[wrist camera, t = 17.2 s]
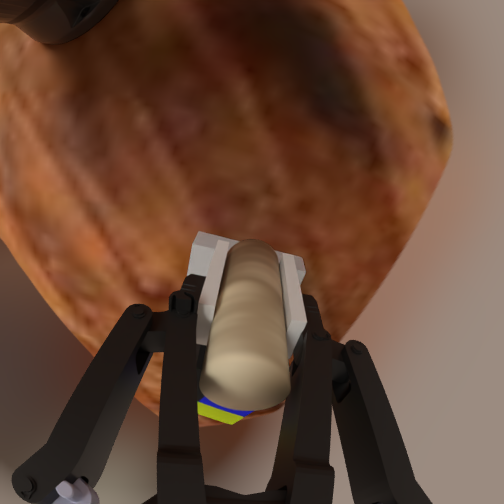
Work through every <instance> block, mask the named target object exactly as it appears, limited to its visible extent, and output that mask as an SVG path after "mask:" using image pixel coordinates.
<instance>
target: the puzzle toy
mask: <svg viewBox="0 0 504 504" xmlns="http://www.w3.org/2000/svg"><path fill="white" fill-rule="evenodd" d="M205 351H206V345H201V344H197V343H196V368H197V403H198V414H200V415H203V416H206V417H209V418H212V419H215V420H218V421H221V422H224V423H228V424H231V425H232V424H234V423H235V422H237V421H239V420H240V419H242V418H243V417H245V416H247V415H248V414H250V413H251V412H253V411H241V410H234V409H229V408H225V407H222V406H220V405H217V404H215V403H213V402H212V401H210V400H209V399H208V398H206V397H205V396H204V395H203V393H202V392H201V390H200V387H199V381H200V376H201V371H202V366H203V361H204V356H205Z"/></svg>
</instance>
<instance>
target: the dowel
mask: <svg viewBox="0 0 504 504" xmlns="http://www.w3.org/2000/svg"><path fill="white" fill-rule="evenodd" d="M199 387H200V390H201V392H202V393H203V395H204V396H205V397H206V398H208V399H209V400H210V401H212V402H213V403H215V404H217V405H220V406H222V407H225V408H229V409H234V410H241V411H255V410H262V409H267V408H270V407H273V406H275V405H277V404H279V403H281V402H282V401H284V400H285V399H286V398H287V396H288V395H289V393H290V390H291V385H290V373H289V361H288V350H287V339H286V328H285V318H284V308H283V299H282V289H281V280H280V271H279V262H278V256H277V254H276V252H275V250H274V249H273V248H272V247H271V246H270V245H269V244H267V243H265V242H263V241H260V240H256V239H247V240H243V241H240V242H238V243H236V244H235V245H233V246H232V247H231V248H230V250H229V251H228V253H227V257H226V262H225V266H224V271H223V275H222V280H221V284H220V289H219V293H218V298H217V303H216V307H215V312H214V317H213V321H212V324H211V327H210V332H209V336H208V341H207V346H206V351H205V356H204V361H203V366H202V371H201V376H200V381H199Z"/></svg>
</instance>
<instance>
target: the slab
mask: <svg viewBox="0 0 504 504" xmlns="http://www.w3.org/2000/svg"><path fill="white" fill-rule="evenodd" d="M218 240H222V241H227V242H229V247H228V251H229V250H230V248H231V247H232V246H233V245H235V244H236V243H238V242H240V241H236V240H232V239H228V238H224V237H220V236H216V235H213V234H209V233H205V232H201V231H199V232H198V234H197V236H196V238H195V240H194V242H193V244H192V250H191V255H190V261H189V267H188V273H187V276H188V275H190V274H196V275H201V276H207V273H208V270H209V267H210V263H211V260H212V257H213V254H214V251H215V248H216V245H217V242H218ZM275 252H276V254H277V256H278V262H279V263H280V259H281V256H282V253H283V252H279V251H275ZM286 254H287V253H286ZM294 260H295V265H296V269H297V274H298V279H299V284H300V285H301V282H302V280H303V278H304V276H305V273H306V270H305V266H304V262H303V259H302V257H299V256H295V255H294Z"/></svg>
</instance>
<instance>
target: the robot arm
mask: <svg viewBox="0 0 504 504" xmlns="http://www.w3.org/2000/svg"><path fill="white" fill-rule="evenodd" d="M117 1H118V0H0V23H9V24H14V25H16V26H17V27H18V28H20V29H21V30H22V31H23V32H25V33H26V34H27V35H29V36H30V37H31V38H33V39H34V40H36V41H38V42H41V43H47V44H62V43H65V42H68V41H71V40H73V39H75V38H77V37H79V36H80V35H82V34H83V33H85V32H86V31H88V30H89V29H90V28H92V27H93V26H94V25H95V24H97V23H98V22H99V21H100V20H101V19H102V18H103V17H104V16H105V15H106V14H107V13H108V12H109V11H110V10H111V9H112V7H113V6H114V5H115V4H116V2H117ZM228 247H229V242H227V241H222V240H218V242H217V245H216V248H215V251H214V254H213V257H212V260H211V263H210V267H209V270H208V273H207V276H201V275H196V274H190V275H188V276H187V277H186V278H185V280H184V282H183V285H182V287H181V289H180V290H178V291H175V292H173V293H172V294H171V295H170V297H169V310H168V311H164V312H152V310H151V309H150V308H149V307H148V306H146V305H144V304H133V305H131V306H129V307H128V308H127V309H126V310H125V311H124V313H123V314H122V316H121V317H120V319H119V320H118V322H117V323H116V325H115V326H114V328H113V329H112V331H111V332H110V334H109V335H108V337H107V338H106V340H105V342H104V343H103V345H102V346H101V348H100V349H99V351H98V353H97V354H96V356H95V357H94V359H93V361H92V362H91V364H90V366H89V367H88V369H87V370H86V372H85V374H84V376H83V377H82V379H81V381H80V382H79V384H78V386H77V387H76V389H75V391H74V392H73V394H72V396H71V398H70V400H69V401H68V403H67V405H66V407H65V409H64V410H63V412H62V414H61V416H60V418H59V420H58V422H57V423H56V425H55V427H54V429H53V431H52V433H51V435H50V437H49V439H48V441H47V443H46V444H45V445H44V446H43V447H42V448H41V449H39V450H38V451H37V452H36V453H35V454H34V455H32V456H31V457H30V458H29V459H28V460H27V461H25V462H24V463H23V464H22V465H21V466H20V467H18V468H17V469H16V470H15V472H14V473H13V475H12V485H13V488H14V490H15V491H16V493H17V494H18V495H19V496H20V497H21V498H22V499H23V500H25V501H27V502H29V503H31V504H99V498H98V495H97V493H96V492H95V491H94V490H93V488H94V487H95V485H96V484H97V482H98V480H99V479H100V477H101V475H102V472H103V470H104V468H105V465H106V463H107V460H108V457H109V455H110V452H111V450H112V447H113V445H114V442H115V440H116V437H117V435H118V432H119V430H120V427H121V425H122V423H123V420H124V418H125V416H126V413H127V411H128V408H129V406H130V404H131V401H132V399H133V397H134V395H135V392H136V390H137V388H138V386H139V383H140V381H141V379H142V377H143V374H144V372H145V370H146V368H147V366H148V363H149V361H150V359H151V357H152V355H153V352H164V357H163V368H162V380H161V394H160V412H159V442H158V452H157V494H156V495H154V496H153V497H151V498H150V499H148V500H147V501H145V502H144V503H142V504H332V499H333V489H334V478H335V475H334V474H335V471H334V468H333V467H332V466H330V464H329V454H330V438H331V437H330V436H331V415H332V406H333V411H334V415H335V419H336V423H337V427H338V432H339V436H340V440H341V445H342V449H343V454H344V458H345V463H346V468H347V472H348V477H349V481H350V486H351V491H352V496H353V500H354V503H355V504H432V502H431V501H430V500H429V498H428V497H427V496H426V494H425V493H424V491H423V490H422V489H421V487H420V486H419V484H418V483H417V482H416V480H415V477H414V474H413V470H412V467H411V464H410V461H409V457H408V454H407V451H406V448H405V446H404V442H403V439H402V436H401V434H400V431H399V428H398V425H397V422H396V419H395V417H394V414H393V412H392V409H391V406H390V403H389V401H388V398H387V395H386V393H385V390H384V388H383V385H382V383H381V381H380V378H379V376H378V373H377V371H376V368H375V366H374V363H373V361H372V359H371V356H370V354H369V352H368V349H367V348H366V346H365V345H364V344H363V343H361V342H359V341H356V340H349V341H348V342H347V343H346V344H345V345H344V344H341V343H338V342H336V341H333V340H332V339H331V335H330V334H329V333H328V332H327V331H326V330H325V329H324V328H323V324H322V320H321V316H320V313H319V309H318V305H317V301H316V300H315V299H314V298H313V296H311V295H305V294H302V293H301V288H300V284H299V279H298V274H297V269H296V265H295V260H294V255H291V254H286V253H282V256H281V259H280V263H279V271H280V280H281V289H282V299H283V308H284V318H285V328H286V339H287V350H288V359H290V358H291V356H292V353H293V354H294V360H293V361H292V363H291V365H290V367H289V372H290V385H291V390H290V393H289V395H288V396H287V398H286V401H285V407H284V413H283V419H282V425H281V431H280V436H279V442H278V447H277V452H276V457H275V462H274V467H273V471H272V476H271V479H270V480H269V482H268V484H267V487H266V490H265V492H262V493H256V494H250V495H242V494H238V493H235V492H232V491H229V490H226V489H223V488H220V487H217V486H209V485H204V476H203V464H202V456H201V453H200V442H199V425H198V403H197V368H196V343H197V344H201V345H206V346H207V341H208V336H209V332H210V327H211V324H212V321H213V317H214V312H215V307H216V303H217V298H218V293H219V289H220V284H221V280H222V275H223V271H224V266H225V262H226V257H227V253H228Z"/></svg>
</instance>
